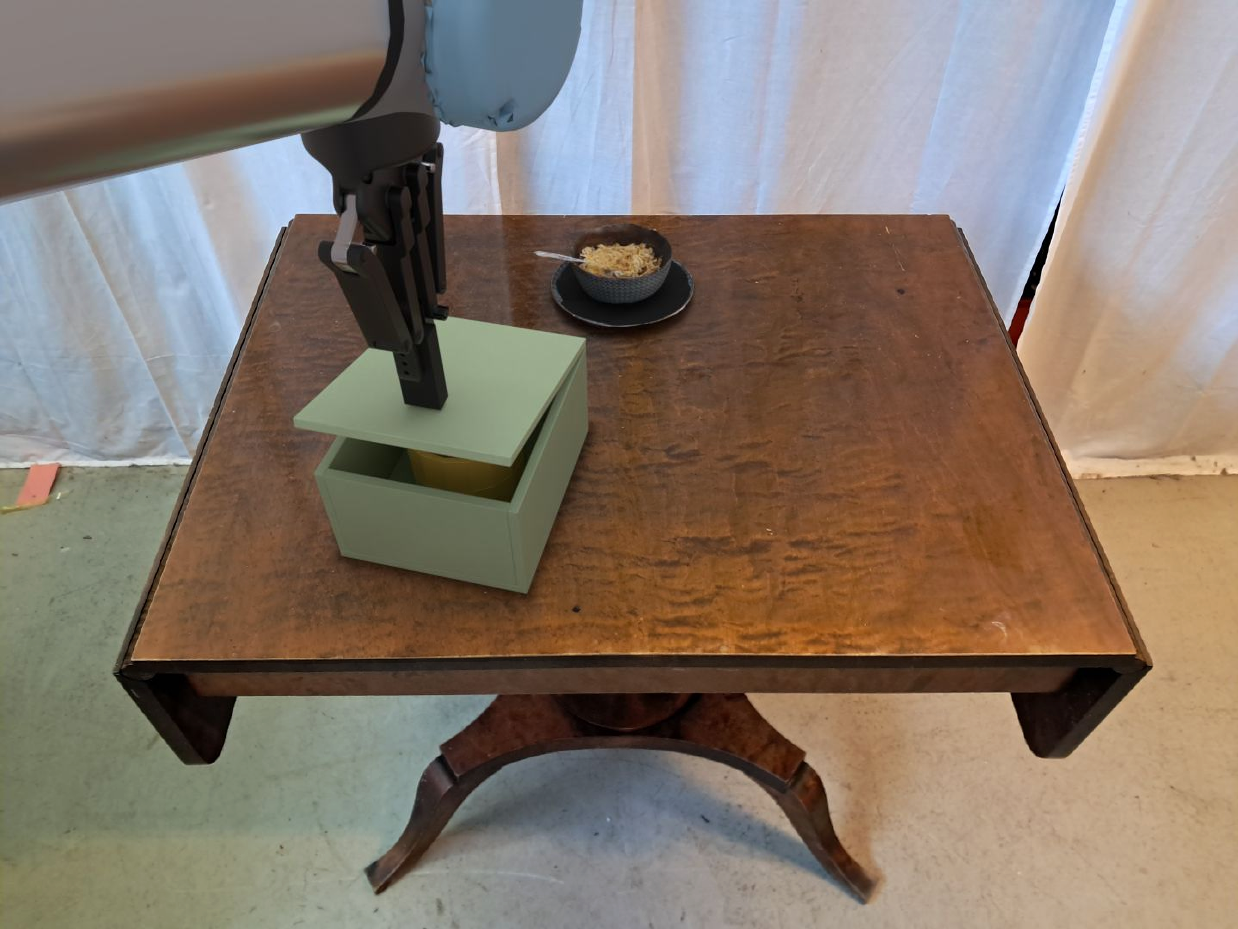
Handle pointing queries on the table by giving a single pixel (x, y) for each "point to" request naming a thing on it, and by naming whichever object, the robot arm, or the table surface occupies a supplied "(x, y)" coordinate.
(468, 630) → the table surface
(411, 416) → the chest lid
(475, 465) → the bowl
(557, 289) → the soup bowl
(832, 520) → the table surface
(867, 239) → the table surface
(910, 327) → the table surface
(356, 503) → the chest
